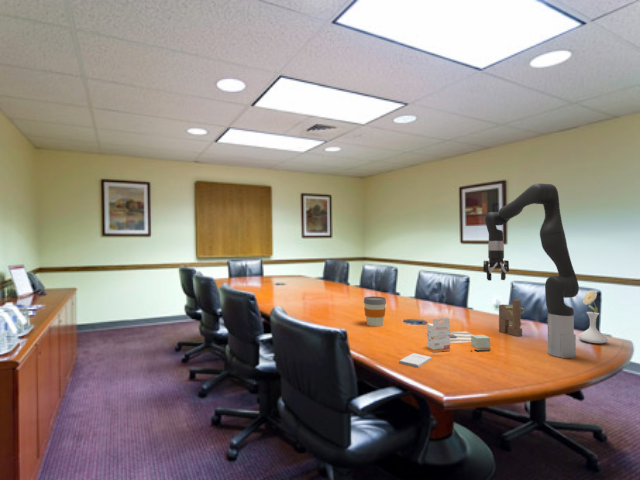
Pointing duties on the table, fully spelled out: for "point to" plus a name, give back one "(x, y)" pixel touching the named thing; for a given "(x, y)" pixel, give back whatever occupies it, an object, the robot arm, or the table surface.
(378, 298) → the reusable coffee cup
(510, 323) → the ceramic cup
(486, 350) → the block
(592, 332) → the flower in vase
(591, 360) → the table surface
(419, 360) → the external hard drive
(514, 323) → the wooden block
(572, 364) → the table surface
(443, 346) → the ink cartridge box
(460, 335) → the birch board
